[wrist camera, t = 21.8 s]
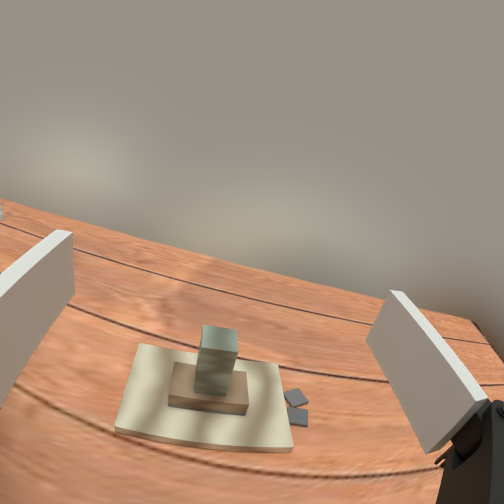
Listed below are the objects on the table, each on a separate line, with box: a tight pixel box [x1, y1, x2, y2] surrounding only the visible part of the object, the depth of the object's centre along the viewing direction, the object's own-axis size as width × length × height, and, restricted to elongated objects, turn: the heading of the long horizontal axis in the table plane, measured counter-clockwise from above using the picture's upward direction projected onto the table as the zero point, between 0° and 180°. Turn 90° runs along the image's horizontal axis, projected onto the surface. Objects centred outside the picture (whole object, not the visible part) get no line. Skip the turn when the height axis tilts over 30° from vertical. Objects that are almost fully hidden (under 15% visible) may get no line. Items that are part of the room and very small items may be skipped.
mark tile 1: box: [287, 407, 308, 427], centre depth 38 cm, size 3×3×1 cm
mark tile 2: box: [283, 388, 309, 408], centre depth 41 cm, size 3×3×1 cm
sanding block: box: [168, 325, 249, 416], centre depth 35 cm, size 10×6×11 cm, turn 94°
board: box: [114, 343, 294, 453], centre depth 37 cm, size 22×16×2 cm
